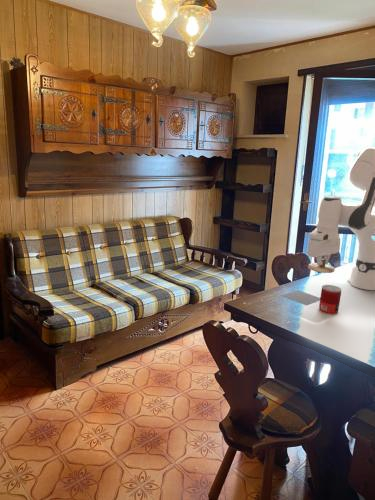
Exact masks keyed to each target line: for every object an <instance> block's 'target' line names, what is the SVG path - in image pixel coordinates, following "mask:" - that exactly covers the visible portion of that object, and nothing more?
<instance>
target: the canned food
mask: <svg viewBox="0 0 375 500" xmlns="http://www.w3.org/2000/svg"><path fill="white" fill-rule="evenodd" d="M320 291H321V292H320V296H319V298H320V301H319V306H318V310H319V311H320V312H321V313H324V314H328V315H336V314H338V312H339V308H340V303H341V295H342V288H341V287H339V286H338V285H337V286H336V285H331V284H324V285H322V286H321V290H320Z"/></svg>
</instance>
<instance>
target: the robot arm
mask: <svg viewBox="0 0 375 500" xmlns="http://www.w3.org/2000/svg"><path fill="white" fill-rule="evenodd" d="M354 159H355V160H354V162H353V164H352V165H351V167H350V169H349V172H348V179H349V181H350V182H351V184H352V185H353V186H354V187H356V188H358V189H360V190H362V191H364V193H363V196H362V200H361V202H360V204H357V205H355V204H348V203H343V202H342V197H340V196H338V195H327V196H324V197H322V199H321V203H320V206H319V211H318V217H317V218H318V222H317V224H316V228H315V229H314V230H312V231H311V232H310V233H308V238H309V240H308V243H307V256H308V257H311V258H315V259H316V263H317V265H319V266H320V265H322V262H323V261H322V260H321V259H325V260H326V263H325V264H327V265H328V263H329V262H328V261H329V259H330V257H331V255H332V254H338V253H339V252H340V250H341V249H340V248H341V237H340V234H339V226H342V227H345V228H346V227H347V228H349V229H350V231H352V232H353V234H354V235H355V236H356V238H357V241H358V244H359V245H358V255H357V258H356V260H355V266H353V267H352V271H351V274H350V277H349V278H348V279H347V282H349V284H350V285H351V286H353V287H355V288H358V289H361V290H366V291H367V290H368V291H375V240H374V239H373V237H372V236H373V235H374V236H375V213H374V212H372V211H373V207H375V147H372V146H371V147H366V148H364V149H362V150H360V151H359V152H358V153H357V154H356V156H355V158H354Z"/></svg>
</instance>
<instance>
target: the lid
mask: <svg viewBox="0 0 375 500" xmlns="http://www.w3.org/2000/svg"><path fill="white" fill-rule="evenodd" d="M321 260H322V261H323V262H322V265H320V266H319V265H317V262H311V263H309V264H308V266H307V268H308V270H311V271H313V272H318V273H323V274H324V273H325V274H331V273H334V272H335V270H336V268H335V267H334V266H332V265H331V264H328V263H327V264H325V263H326V260H325V259H324V258H321Z"/></svg>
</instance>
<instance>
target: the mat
mask: <svg viewBox="0 0 375 500" xmlns="http://www.w3.org/2000/svg"><path fill="white" fill-rule="evenodd" d="M280 296H281V297H283V298H286V299H289V300H292V301H294V302H297V303H299V304H302V305H304V306H309V305H311V304H314V303H317V302H320V296H319V297H318V296H316V295H313V294H310V293H307V292H305V291H301V290H299V289H297V290H295V291H291V292H287V293H285V294H282V295H280Z"/></svg>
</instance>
